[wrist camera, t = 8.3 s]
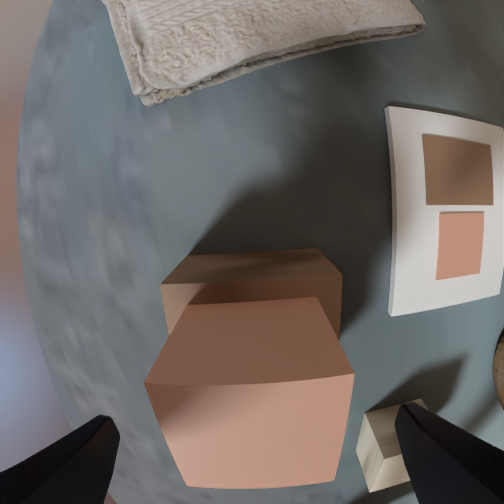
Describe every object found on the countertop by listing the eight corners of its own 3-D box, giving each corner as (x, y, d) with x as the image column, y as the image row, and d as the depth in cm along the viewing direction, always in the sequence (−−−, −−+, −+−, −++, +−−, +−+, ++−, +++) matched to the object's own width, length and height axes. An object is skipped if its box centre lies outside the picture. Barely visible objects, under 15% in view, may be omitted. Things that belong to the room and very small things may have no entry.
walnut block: (317, 247, 16) (342, 274, 11) (315, 357, 17) (331, 410, 12) (188, 254, 16) (159, 284, 11) (203, 362, 17) (188, 415, 12)
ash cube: (420, 397, 18) (446, 437, 13) (406, 436, 19) (426, 474, 14) (364, 411, 18) (384, 459, 13) (355, 449, 19) (369, 492, 14)
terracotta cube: (316, 296, 11) (354, 373, 6) (313, 395, 12) (334, 480, 7) (186, 304, 11) (143, 382, 6) (205, 400, 12) (186, 486, 7)
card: (497, 128, 13) (504, 127, 12) (494, 291, 16) (500, 294, 15) (384, 108, 14) (389, 105, 13) (387, 312, 16) (392, 317, 15)
